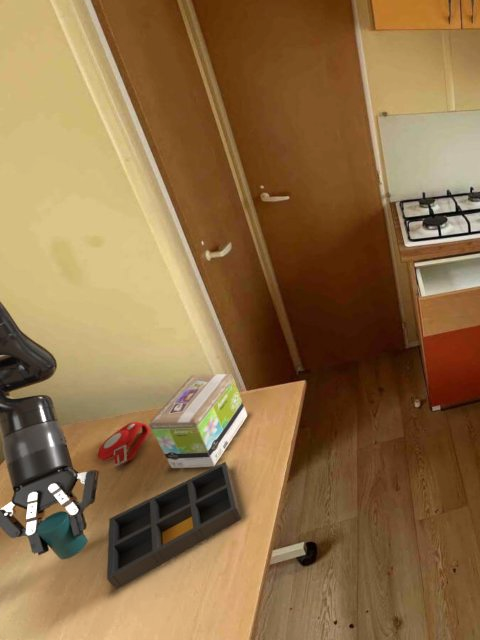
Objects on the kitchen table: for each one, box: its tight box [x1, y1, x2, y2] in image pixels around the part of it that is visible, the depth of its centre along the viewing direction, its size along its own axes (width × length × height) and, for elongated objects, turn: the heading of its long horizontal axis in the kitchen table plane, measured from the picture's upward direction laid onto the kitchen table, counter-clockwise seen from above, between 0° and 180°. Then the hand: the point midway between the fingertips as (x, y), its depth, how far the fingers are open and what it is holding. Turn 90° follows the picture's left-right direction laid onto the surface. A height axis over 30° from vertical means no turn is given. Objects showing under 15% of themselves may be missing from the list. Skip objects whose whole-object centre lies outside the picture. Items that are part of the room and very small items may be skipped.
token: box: [37, 510, 89, 560], centre depth 77 cm, size 4×4×8 cm
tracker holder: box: [96, 421, 150, 468], centre depth 100 cm, size 12×4×10 cm
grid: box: [106, 461, 242, 590], centre depth 84 cm, size 20×13×4 cm
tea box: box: [148, 373, 248, 469], centre depth 99 cm, size 15×10×15 cm
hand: (61, 543), depth 75 cm, fingers closed on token, 4 cm apart
